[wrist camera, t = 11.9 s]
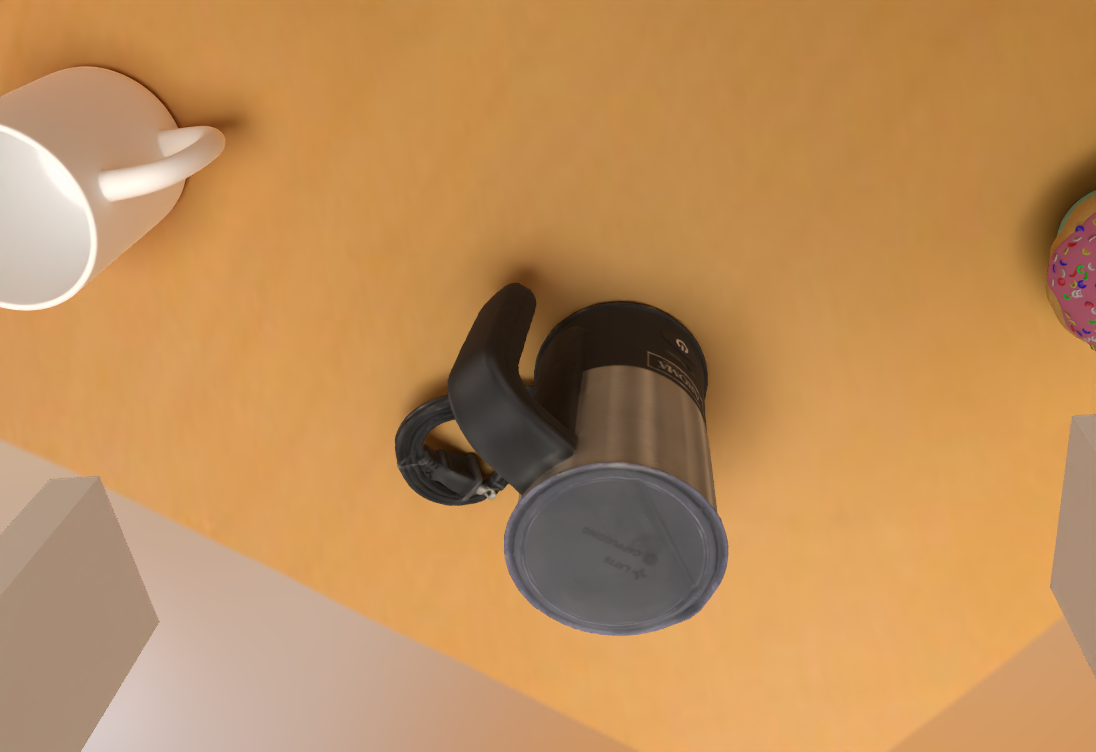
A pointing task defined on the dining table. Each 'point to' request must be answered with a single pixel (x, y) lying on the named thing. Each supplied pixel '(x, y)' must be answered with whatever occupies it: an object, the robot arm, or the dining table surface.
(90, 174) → the cup
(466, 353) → the milk frother
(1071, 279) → the cupcake
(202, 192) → the dining table surface
